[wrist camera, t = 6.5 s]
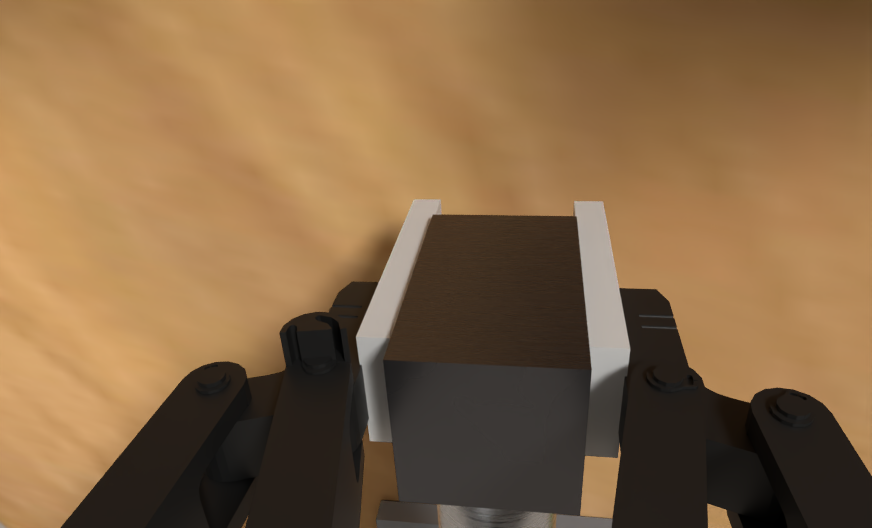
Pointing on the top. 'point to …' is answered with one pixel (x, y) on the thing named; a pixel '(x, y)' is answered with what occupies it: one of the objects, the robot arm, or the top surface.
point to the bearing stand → (418, 523)
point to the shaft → (492, 372)
